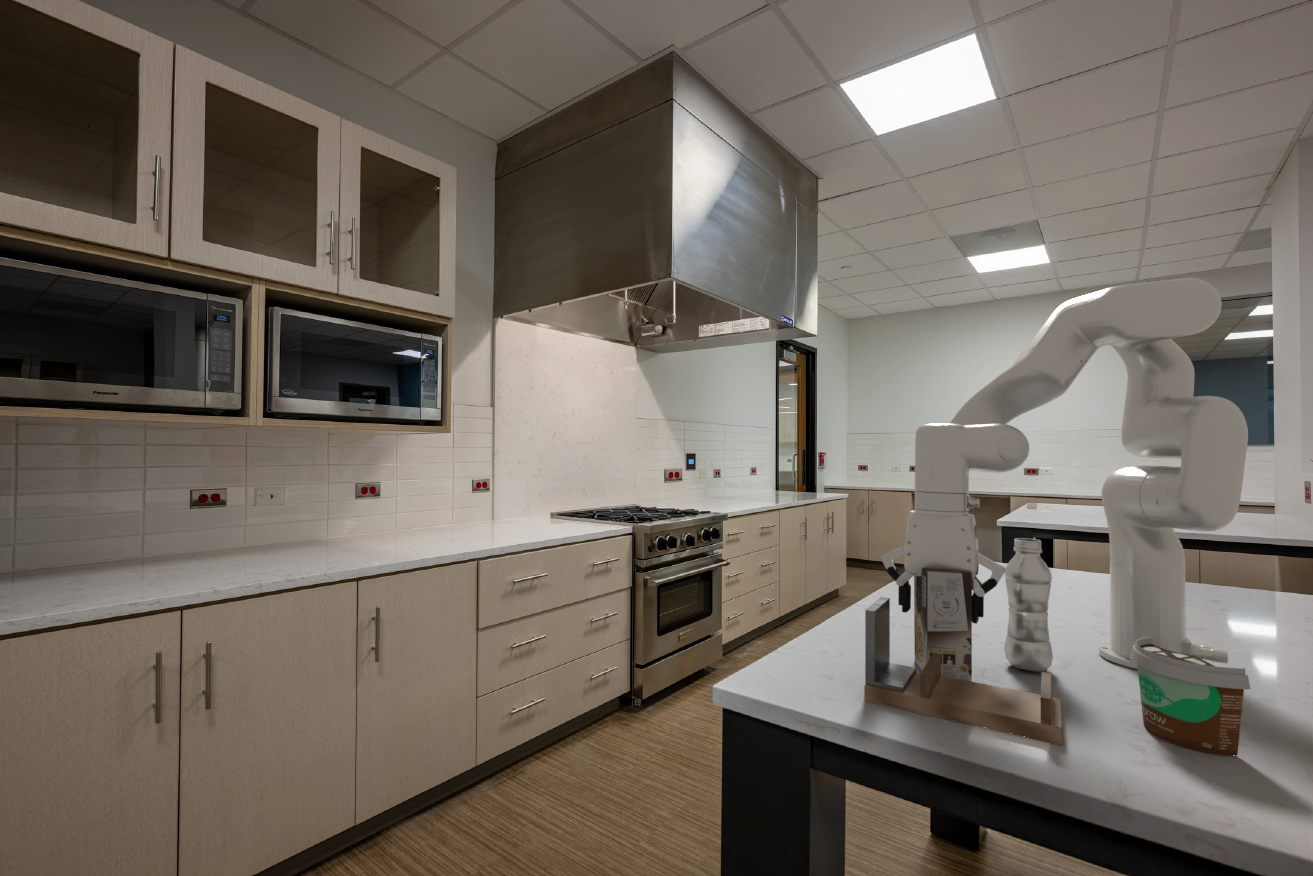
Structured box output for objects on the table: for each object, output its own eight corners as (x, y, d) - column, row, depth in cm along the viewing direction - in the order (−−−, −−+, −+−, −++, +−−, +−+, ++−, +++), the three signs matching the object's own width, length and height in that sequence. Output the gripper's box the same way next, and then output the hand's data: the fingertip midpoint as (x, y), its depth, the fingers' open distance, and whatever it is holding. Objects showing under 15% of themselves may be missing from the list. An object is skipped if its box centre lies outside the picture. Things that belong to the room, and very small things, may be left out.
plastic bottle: (1049, 665, 96) (1048, 538, 96) (1056, 679, 89) (1055, 544, 90) (1002, 659, 98) (1001, 535, 99) (1006, 672, 92) (1006, 541, 93)
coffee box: (974, 684, 87) (973, 572, 88) (926, 681, 89) (926, 570, 89) (956, 663, 96) (956, 561, 97) (913, 660, 97) (913, 559, 98)
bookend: (915, 671, 86) (915, 601, 87) (902, 692, 79) (902, 615, 79) (881, 665, 89) (881, 597, 89) (865, 684, 82) (865, 609, 82)
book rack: (1060, 714, 77) (1060, 674, 78) (1061, 745, 69) (1061, 701, 69) (881, 677, 89) (881, 643, 90) (864, 700, 81) (864, 663, 81)
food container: (1105, 715, 77) (1104, 636, 78) (1149, 714, 78) (1148, 636, 78) (1199, 765, 65) (1198, 671, 65) (1251, 763, 66) (1250, 670, 66)
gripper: (1007, 506, 91) (1006, 620, 91) (887, 499, 101) (886, 602, 100) (1004, 509, 85) (1003, 632, 85) (876, 501, 95) (875, 611, 94)
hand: (939, 615), depth 92 cm, fingers open, 9 cm apart
